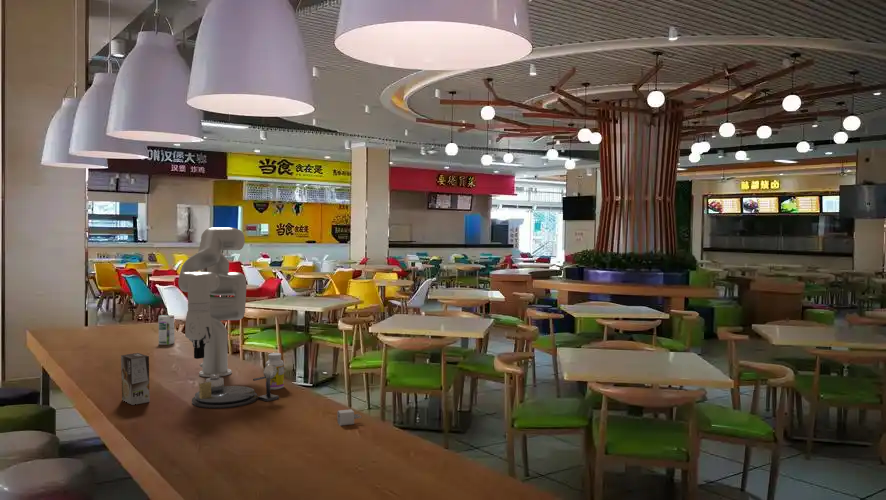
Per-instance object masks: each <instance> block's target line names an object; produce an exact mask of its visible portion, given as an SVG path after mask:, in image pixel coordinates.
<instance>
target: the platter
mask: <svg viewBox="0 0 886 500" xmlns="http://www.w3.org/2000/svg"><path fill="white" fill-rule="evenodd" d="M255 391H256V390H255V389H254V388H252V387H248V386H243V385H241V386H240V385H226V386H225V385H224V390H223V391H220V392H211V382H206V381H205V382H202V383H199V390H198V391H197V392H196V393H195V394H194V397H195V400H196V401H198V402H201V403H208V404H226V403H235V402H240V401H244V400H248V399H250V398H252V397H254V395H255V393H256V392H255Z"/></svg>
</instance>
